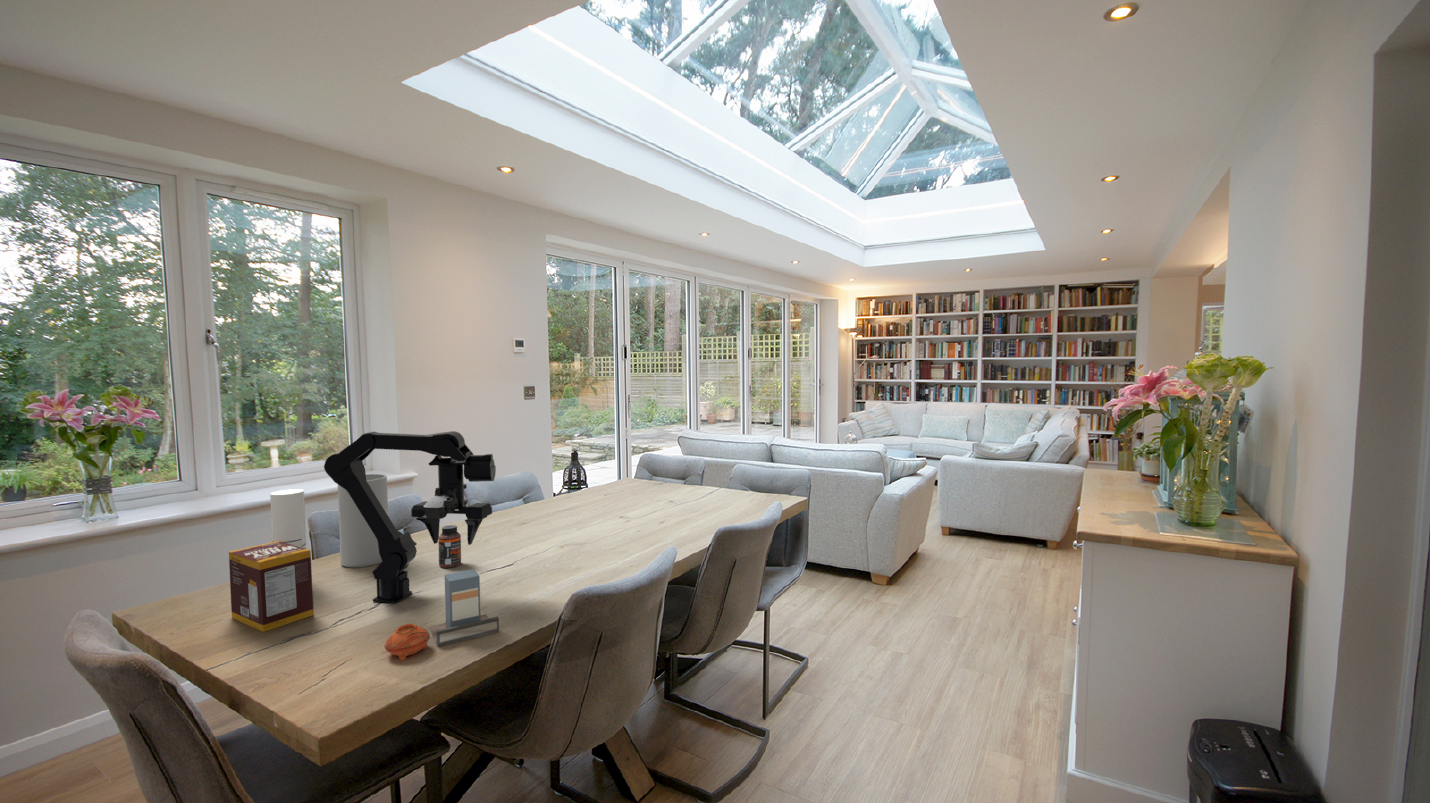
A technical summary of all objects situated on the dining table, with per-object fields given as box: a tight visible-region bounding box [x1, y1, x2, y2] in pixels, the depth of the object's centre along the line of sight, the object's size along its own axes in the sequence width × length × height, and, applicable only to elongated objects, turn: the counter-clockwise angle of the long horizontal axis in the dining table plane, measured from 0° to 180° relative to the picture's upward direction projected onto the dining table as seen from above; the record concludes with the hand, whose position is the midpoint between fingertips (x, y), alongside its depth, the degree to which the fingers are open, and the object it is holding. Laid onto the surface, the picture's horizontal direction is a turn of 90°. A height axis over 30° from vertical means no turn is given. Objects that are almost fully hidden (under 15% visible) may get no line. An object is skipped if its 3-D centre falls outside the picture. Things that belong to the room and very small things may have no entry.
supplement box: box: [228, 541, 315, 633], centre depth 138 cm, size 10×15×16 cm
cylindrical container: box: [269, 488, 307, 549], centre depth 157 cm, size 7×7×25 cm
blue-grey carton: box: [444, 568, 481, 628], centre depth 128 cm, size 5×6×12 cm
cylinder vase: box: [337, 473, 389, 568], centre depth 177 cm, size 12×12×25 cm
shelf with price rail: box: [428, 613, 500, 648], centre depth 129 cm, size 11×12×4 cm
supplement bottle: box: [438, 524, 462, 569], centre depth 174 cm, size 6×6×11 cm
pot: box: [384, 623, 431, 661], centre depth 119 cm, size 8×8×7 cm
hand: (452, 543), depth 150 cm, fingers open, 9 cm apart
